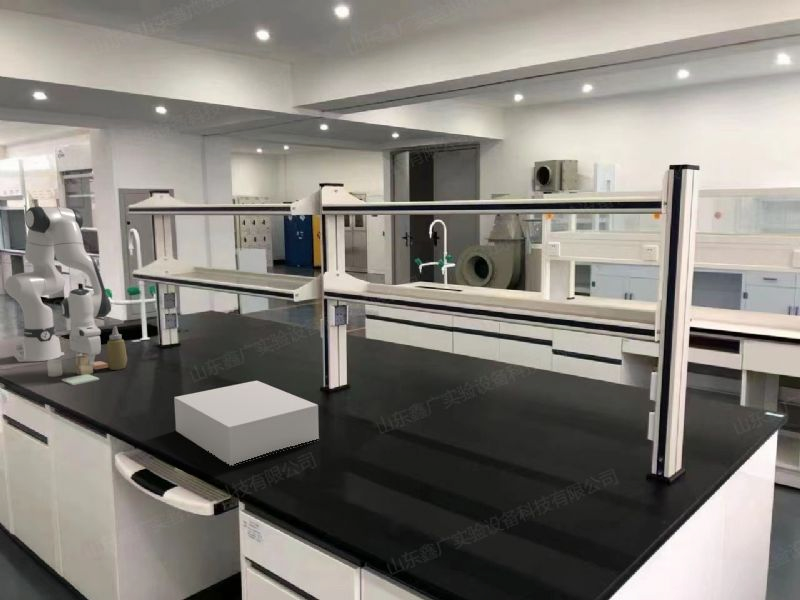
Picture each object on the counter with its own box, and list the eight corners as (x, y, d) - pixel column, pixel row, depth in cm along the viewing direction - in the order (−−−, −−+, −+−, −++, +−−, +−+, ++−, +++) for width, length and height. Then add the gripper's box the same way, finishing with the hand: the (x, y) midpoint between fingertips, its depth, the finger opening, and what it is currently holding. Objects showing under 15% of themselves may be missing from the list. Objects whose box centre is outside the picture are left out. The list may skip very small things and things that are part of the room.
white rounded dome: (46, 375, 248) (45, 360, 247) (59, 372, 252) (58, 358, 251) (51, 377, 245) (50, 362, 244) (64, 374, 248) (63, 360, 248)
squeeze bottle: (102, 369, 257) (99, 327, 254) (119, 365, 264) (116, 324, 261) (115, 371, 253) (112, 328, 251) (132, 367, 260) (129, 325, 258)
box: (257, 412, 203) (256, 380, 202) (318, 441, 178) (318, 405, 176) (176, 432, 185) (174, 397, 183) (230, 467, 159) (229, 427, 158)
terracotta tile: (88, 367, 262) (88, 363, 261) (100, 365, 265) (100, 361, 265) (95, 370, 257) (95, 365, 257) (107, 368, 261) (107, 363, 260)
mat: (61, 380, 240) (61, 379, 240) (88, 375, 247) (87, 374, 247) (72, 385, 233) (72, 383, 233) (99, 379, 241) (99, 378, 241)
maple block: (76, 373, 251) (75, 356, 250) (88, 371, 254) (87, 354, 253) (81, 375, 248) (80, 358, 247) (93, 372, 252) (91, 356, 251)
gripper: (63, 327, 253) (66, 360, 255) (86, 333, 240) (89, 367, 242) (79, 325, 258) (82, 358, 260) (102, 330, 245) (105, 364, 247)
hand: (85, 362), depth 251 cm, fingers open, 8 cm apart
